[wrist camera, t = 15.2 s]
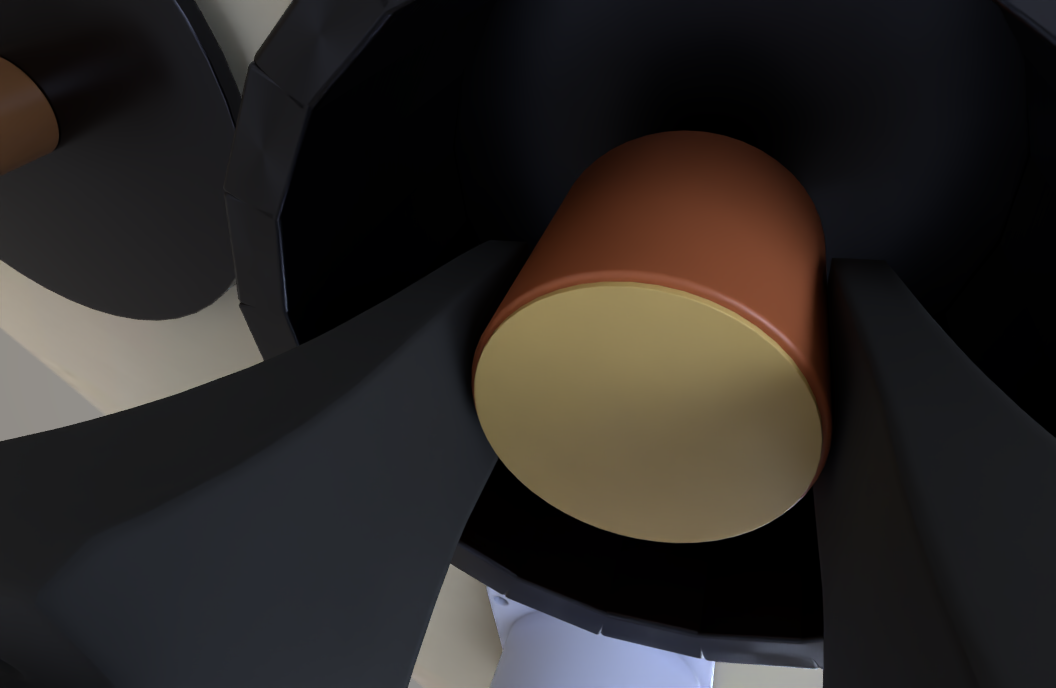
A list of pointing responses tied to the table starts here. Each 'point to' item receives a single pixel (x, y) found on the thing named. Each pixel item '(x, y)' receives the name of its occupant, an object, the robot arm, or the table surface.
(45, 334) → the table surface
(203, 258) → the lid
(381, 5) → the black round container
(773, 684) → the table surface
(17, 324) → the table surface
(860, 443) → the robot arm
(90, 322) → the table surface
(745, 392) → the cylinder
